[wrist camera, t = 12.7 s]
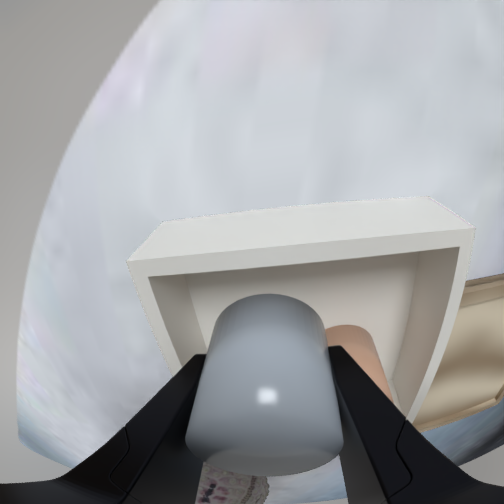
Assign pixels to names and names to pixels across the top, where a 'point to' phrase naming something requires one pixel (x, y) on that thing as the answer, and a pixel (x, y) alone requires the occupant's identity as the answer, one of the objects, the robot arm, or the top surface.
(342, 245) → the square storage bin
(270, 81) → the top surface
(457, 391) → the parts tray
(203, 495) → the sea urchin shell
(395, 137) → the top surface
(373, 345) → the peach rounded cylinder
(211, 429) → the slate pebble
